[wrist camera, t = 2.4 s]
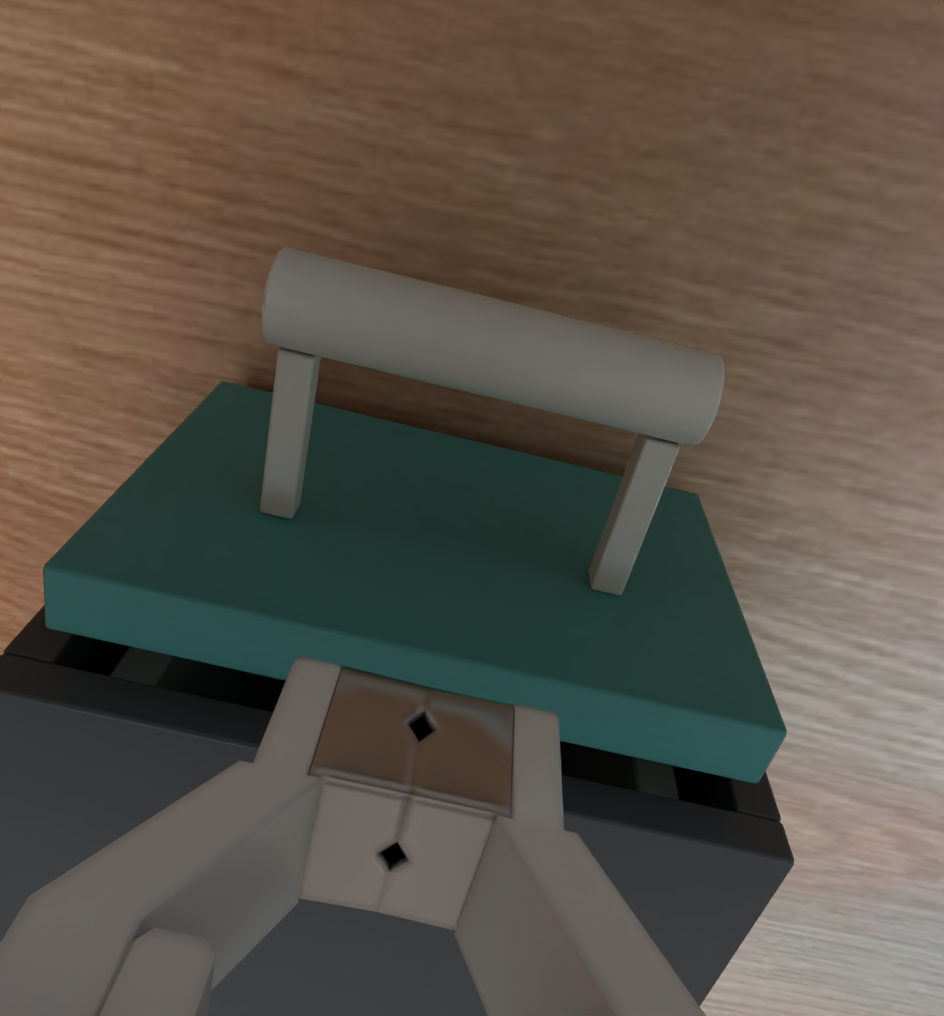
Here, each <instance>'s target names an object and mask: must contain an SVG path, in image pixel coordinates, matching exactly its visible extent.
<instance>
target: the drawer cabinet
mask: <svg viewBox="0 0 944 1016" xmlns="http://www.w3.org/2000/svg"><path fill="white" fill-rule="evenodd" d="M129 647H130V646H125V645H121V644H116V643H112V642H107V641H103V640H98V639H94V638H89V637H84V636H80V635H75V634H71V633H66V632H62V631H57V630H53V629H49V628H47V627H46V623H45V605H44V606H43V607H42V608H41V609H40V611H39V612H38V613H37V614H36V615H35V616H34V617H33V618H32V620H31V621H30V622H29V623H28V624H27V625H26V626H25V627H24V628H23V630H22V631H21V632H20V633H19V634H18V635H17V636H16V637H15V639H14V640H13V641H12V642H11V643H10V644H9V645H8V646H7V648H6V649H5V650H4V654H2V655H1V656H0V942H1V941H2V939H3V937H4V936H5V934H6V932H7V931H8V929H9V928H10V926H11V924H12V923H13V921H14V919H15V918H16V916H17V915H18V913H19V911H20V910H21V908H22V906H23V905H24V903H25V902H26V900H27V898H28V897H29V896H30V895H31V894H33V893H35V892H36V891H38V890H39V889H41V888H42V887H44V886H45V885H47V884H49V883H50V882H52V881H53V880H55V879H56V878H58V877H59V876H61V875H62V874H64V873H66V872H67V871H69V870H70V869H72V868H73V867H75V866H76V865H78V864H79V863H81V862H83V861H84V860H86V859H87V858H89V857H90V856H92V855H93V854H95V853H97V852H98V851H100V850H101V849H103V848H104V847H106V846H107V845H109V844H110V843H112V842H114V841H115V840H117V839H118V838H120V837H121V836H123V835H124V834H126V833H127V832H129V831H131V830H132V829H134V828H135V827H137V826H138V825H140V824H141V823H143V822H145V821H146V820H148V819H149V818H151V817H152V816H154V815H155V814H157V813H158V812H160V811H162V810H163V809H165V808H166V807H168V806H169V805H171V804H172V803H174V802H175V801H177V800H179V799H180V798H182V797H183V796H185V795H186V794H188V793H189V792H191V791H193V790H194V789H196V788H197V787H199V786H200V785H202V784H203V783H205V782H206V781H208V780H210V779H211V778H213V777H214V776H216V775H217V774H219V773H220V772H222V771H223V770H225V769H227V768H228V767H230V766H231V765H233V764H234V763H236V762H237V761H244V762H249V763H253V762H254V759H255V757H256V754H257V752H258V749H259V747H260V744H261V742H262V739H263V737H264V734H265V732H266V729H267V727H268V724H269V722H270V719H271V717H272V714H273V712H272V711H267V710H263V709H258V708H253V707H249V706H244V705H240V704H235V703H230V702H226V701H221V700H217V699H212V698H207V697H203V696H198V695H194V694H189V693H184V692H180V691H175V690H171V689H166V688H161V687H157V686H152V685H148V684H143V683H138V682H134V681H129V680H124V679H120V678H115V677H111V676H110V675H111V673H112V672H113V670H114V669H115V668H116V666H117V665H118V663H119V662H120V660H121V659H122V657H123V656H124V654H125V653H126V651H127V650H128V649H129ZM673 770H674V775H675V780H676V785H677V790H678V795H679V800H677V799H672V798H668V797H663V796H659V795H654V794H649V793H645V792H640V791H636V790H631V789H626V788H622V787H617V786H613V785H608V784H603V783H599V782H594V781H590V780H585V779H580V778H576V777H571V776H567V775H562V774H561V776H562V797H563V818H564V830H566V831H570V832H574V833H578V835H579V836H580V838H581V839H582V840H583V842H584V843H585V845H586V846H587V848H588V849H589V850H590V852H591V853H592V855H593V856H594V857H595V859H596V860H597V862H598V863H599V865H600V866H601V867H602V869H603V870H604V872H605V873H606V875H607V876H608V877H609V879H610V880H611V882H612V883H613V884H614V886H615V887H616V889H617V890H618V892H619V893H620V894H621V896H622V897H623V899H624V900H625V901H626V903H627V904H628V906H629V907H630V909H631V910H632V911H633V913H634V914H635V916H636V917H637V919H638V920H639V921H640V923H641V924H642V926H643V927H644V928H645V930H646V931H647V933H648V934H649V936H650V937H651V938H652V940H653V941H654V943H655V944H656V945H657V947H658V948H659V950H660V951H661V953H662V954H663V955H664V957H665V958H666V960H667V961H668V963H669V964H670V965H671V967H672V968H673V970H674V971H675V972H676V974H677V975H678V977H679V978H680V980H681V981H682V982H683V984H684V985H685V987H686V988H687V989H688V991H689V992H690V994H691V995H692V997H693V998H694V999H695V1001H696V1002H697V1004H698V1005H699V1007H700V1005H701V1004H702V1002H703V1000H704V999H705V997H706V996H707V994H708V993H709V991H710V990H711V988H712V987H713V985H714V984H715V982H716V981H717V979H718V978H719V976H720V975H721V973H722V972H723V970H724V969H725V967H726V966H727V964H728V963H729V961H730V960H731V958H732V957H733V955H734V954H735V952H736V951H737V949H738V948H739V946H740V945H741V943H742V942H743V940H744V939H745V937H746V936H747V934H748V933H749V931H750V930H751V928H752V927H753V925H754V924H755V922H756V921H757V919H758V918H759V916H760V915H761V913H762V912H763V910H764V909H765V907H766V906H767V904H768V903H769V901H770V899H771V898H772V896H773V895H774V893H775V892H776V890H777V889H778V887H779V886H780V884H781V883H782V881H783V880H784V878H785V877H786V875H787V874H788V872H789V871H790V869H791V868H792V866H793V864H794V858H793V855H792V852H791V849H790V846H789V843H788V840H787V836H786V833H785V830H784V827H783V825H782V824H781V823H780V820H781V817H780V814H779V811H778V808H777V805H776V802H775V799H774V796H773V792H772V789H771V786H770V783H769V780H768V777H767V774H766V771H765V773H764V774H763V776H762V778H761V779H760V781H759V782H758V783H750V782H745V781H741V780H736V779H732V778H727V777H722V776H718V775H713V774H709V773H704V772H700V771H695V770H691V769H686V768H681V767H677V766H673ZM454 934H455V930H451V929H447V928H442V927H438V926H434V925H430V924H426V923H421V922H417V921H413V920H409V919H404V918H400V917H396V916H392V915H388V914H383V913H379V912H374V911H369V910H363V909H357V908H352V907H346V906H340V905H335V904H329V903H323V902H318V901H312V900H306V899H301V898H299V899H298V904H297V905H296V906H295V907H294V908H293V909H292V910H291V911H290V912H289V913H288V914H287V915H286V916H285V917H284V918H283V919H282V920H281V921H280V922H279V923H278V924H277V925H276V926H275V927H274V928H273V929H272V930H271V931H270V932H269V933H268V934H267V935H266V936H265V937H264V938H263V939H262V940H261V941H260V942H259V943H258V944H257V945H256V946H255V947H254V948H253V949H252V950H251V951H250V952H249V953H248V954H247V955H246V956H245V957H244V958H243V959H242V960H241V961H240V962H239V963H238V964H237V965H236V966H235V967H234V968H233V969H232V970H231V971H230V972H229V973H228V974H227V975H226V976H225V977H224V978H223V979H222V980H221V981H220V982H219V983H218V984H217V985H216V986H215V987H214V988H213V989H212V990H211V995H210V1002H209V1010H208V1016H488V1015H487V1013H486V1010H485V1008H484V1006H483V1003H482V1001H481V998H480V996H479V993H478V991H477V989H476V986H475V984H474V981H473V979H472V977H471V974H470V972H469V969H468V967H467V964H466V962H465V960H464V957H463V955H462V952H461V950H460V947H459V945H458V943H457V940H456V938H455V935H454Z"/></svg>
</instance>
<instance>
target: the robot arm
mask: <svg viewBox="0 0 944 1016" xmlns="http://www.w3.org/2000/svg"><path fill="white" fill-rule="evenodd" d="M299 898H301V899H306V900H312V901H318V902H323V903H329V904H335V905H340V906H346V907H352V908H357V909H363V910H369V911H374V912H379V913H383V914H388V915H392V916H396V917H400V918H404V919H409V920H413V921H417V922H421V923H426V924H430V925H434V926H438V927H442V928H447V929H451V930H455V934H454V935H455V938H456V940H457V943H458V945H459V947H460V950H461V952H462V955H463V957H464V960H465V962H466V964H467V967H468V969H469V972H470V974H471V977H472V979H473V981H474V984H475V986H476V989H477V991H478V993H479V996H480V998H481V1001H482V1003H483V1006H484V1008H485V1010H486V1013H487V1015H488V1016H706V1015H705V1014H704V1012H703V1011H702V1009H701V1008H700V1007H699V1005H698V1004H697V1002H696V1001H695V999H694V998H693V997H692V995H691V994H690V992H689V991H688V989H687V988H686V987H685V985H684V984H683V982H682V981H681V980H680V978H679V977H678V975H677V974H676V972H675V971H674V970H673V968H672V967H671V965H670V964H669V963H668V961H667V960H666V958H665V957H664V955H663V954H662V953H661V951H660V950H659V948H658V947H657V945H656V944H655V943H654V941H653V940H652V938H651V937H650V936H649V934H648V933H647V931H646V930H645V928H644V927H643V926H642V924H641V923H640V921H639V920H638V919H637V917H636V916H635V914H634V913H633V911H632V910H631V909H630V907H629V906H628V904H627V903H626V901H625V900H624V899H623V897H622V896H621V894H620V893H619V892H618V890H617V889H616V887H615V886H614V884H613V883H612V882H611V880H610V879H609V877H608V876H607V875H606V873H605V872H604V870H603V869H602V867H601V866H600V865H599V863H598V862H597V860H596V859H595V857H594V856H593V855H592V853H591V852H590V850H589V849H588V848H587V846H586V845H585V843H584V842H583V840H582V839H581V838H580V836H579V835H578V833H574V832H570V831H566V830H564V818H563V797H562V776H561V755H560V733H559V719H558V717H557V715H556V713H555V712H550V711H545V710H541V709H536V708H531V707H526V706H521V705H516V704H513V705H510V704H508V703H503V702H498V701H494V700H489V699H484V698H480V697H475V696H470V695H466V694H461V693H457V692H452V691H447V690H443V689H438V688H433V687H429V686H424V685H420V684H416V683H412V682H408V681H404V680H400V679H396V678H392V677H388V676H384V675H380V674H376V673H372V672H368V671H364V670H360V669H355V668H351V667H347V666H343V669H342V666H340V665H336V664H332V663H328V662H324V661H320V660H316V659H311V658H307V657H303V656H299V657H298V658H297V659H296V660H295V662H294V663H293V665H292V667H291V670H290V672H289V675H288V677H287V680H286V682H285V685H284V687H283V690H282V692H281V695H280V697H279V700H278V702H277V704H276V707H275V709H274V712H273V714H272V717H271V719H270V722H269V724H268V727H267V729H266V732H265V734H264V737H263V739H262V742H261V744H260V747H259V749H258V752H257V754H256V757H255V759H254V762H253V763H249V762H244V761H237V762H236V763H234V764H233V765H231V766H230V767H228V768H227V769H225V770H223V771H222V772H220V773H219V774H217V775H216V776H214V777H213V778H211V779H210V780H208V781H206V782H205V783H203V784H202V785H200V786H199V787H197V788H196V789H194V790H193V791H191V792H189V793H188V794H186V795H185V796H183V797H182V798H180V799H179V800H177V801H175V802H174V803H172V804H171V805H169V806H168V807H166V808H165V809H163V810H162V811H160V812H158V813H157V814H155V815H154V816H152V817H151V818H149V819H148V820H146V821H145V822H143V823H141V824H140V825H138V826H137V827H135V828H134V829H132V830H131V831H129V832H127V833H126V834H124V835H123V836H121V837H120V838H118V839H117V840H115V841H114V842H112V843H110V844H109V845H107V846H106V847H104V848H103V849H101V850H100V851H98V852H97V853H95V854H93V855H92V856H90V857H89V858H87V859H86V860H84V861H83V862H81V863H79V864H78V865H76V866H75V867H73V868H72V869H70V870H69V871H67V872H66V873H64V874H62V875H61V876H59V877H58V878H56V879H55V880H53V881H52V882H50V883H49V884H47V885H45V886H44V887H42V888H41V889H39V890H38V891H36V892H35V893H33V894H31V895H30V896H29V897H28V898H27V900H26V902H25V903H24V905H23V906H22V908H21V910H20V911H19V913H18V915H17V916H16V918H15V919H14V921H13V923H12V924H11V926H10V928H9V929H8V931H7V932H6V934H5V936H4V937H3V939H2V941H1V942H0V1016H208V1010H209V1002H210V995H211V990H212V989H213V988H214V987H215V986H216V985H217V984H218V983H219V982H220V981H221V980H222V979H223V978H224V977H225V976H226V975H227V974H228V973H229V972H230V971H231V970H232V969H233V968H234V967H235V966H236V965H237V964H238V963H239V962H240V961H241V960H242V959H243V958H244V957H245V956H246V955H247V954H248V953H249V952H250V951H251V950H252V949H253V948H254V947H255V946H256V945H257V944H258V943H259V942H260V941H261V940H262V939H263V938H264V937H265V936H266V935H267V934H268V933H269V932H270V931H271V930H272V929H273V928H274V927H275V926H276V925H277V924H278V923H279V922H280V921H281V920H282V919H283V918H284V917H285V916H286V915H287V914H288V913H289V912H290V911H291V910H292V909H293V908H294V907H295V906H296V905H297V904H298V899H299Z"/></svg>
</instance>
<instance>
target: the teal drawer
mask: <svg viewBox="0 0 944 1016" xmlns="http://www.w3.org/2000/svg"><path fill="white" fill-rule="evenodd" d="M261 327H262V334H263V338H264V340H265V341H266V342H267V343H269V344H270V345H274V346H279V347H282V348H281V349H280V350H279V351H278V354H277V363H276V371H275V380H274V389H273V393H271V392H267V391H262V390H258V389H254V388H250V387H246V386H241V385H237V384H233V383H229V382H221V383H220V384H219V385H218V386H217V387H216V388H215V389H214V390H213V391H212V392H211V393H210V394H209V395H208V396H207V397H206V398H205V399H204V400H203V401H202V403H201V404H200V405H199V406H198V407H197V408H196V409H195V410H194V411H193V412H192V413H191V414H190V415H189V416H188V417H187V418H186V419H185V420H184V421H183V422H182V423H181V424H180V425H179V426H178V427H177V428H176V429H175V431H174V432H173V433H172V434H171V435H170V436H169V437H168V438H167V439H166V440H165V441H164V442H163V443H162V444H161V445H160V446H159V447H158V448H157V449H156V450H155V451H154V452H153V453H152V454H151V455H150V456H149V457H148V459H147V460H146V461H145V462H144V463H143V464H142V465H141V466H140V467H139V468H138V469H137V470H136V471H135V472H134V473H133V474H132V475H131V476H130V477H129V478H128V479H127V480H126V481H125V482H124V483H123V484H122V485H121V486H120V488H119V489H118V490H117V491H116V492H115V493H114V494H113V495H112V496H111V497H110V498H109V499H108V500H107V501H106V502H105V503H104V504H103V505H102V506H101V507H100V508H99V509H98V510H97V511H96V512H95V513H94V514H93V516H92V517H91V518H90V519H89V520H88V521H87V522H86V523H85V524H84V525H83V526H82V527H81V528H80V529H79V530H78V531H77V532H76V533H75V534H74V535H73V536H72V537H71V538H70V539H69V540H68V541H67V542H66V544H65V545H64V546H63V547H62V548H61V549H60V550H59V551H58V552H57V553H56V554H55V555H54V556H53V557H52V558H51V559H50V560H49V561H48V562H47V563H46V564H45V566H44V569H43V576H44V600H45V623H46V627H47V628H49V629H53V630H57V631H62V632H66V633H71V634H75V635H80V636H84V637H89V638H94V639H98V640H103V641H107V642H112V643H116V644H121V645H125V646H130V647H129V649H128V650H127V651H126V653H125V654H124V656H123V657H122V659H121V660H120V662H119V663H118V665H117V666H116V668H115V669H114V670H113V672H112V673H111V675H110V676H111V677H115V678H120V679H124V680H129V681H134V682H138V683H143V684H148V685H152V686H157V687H161V688H166V689H171V690H175V691H180V692H184V693H189V694H194V695H198V696H203V697H207V698H212V699H217V700H221V701H226V702H230V703H235V704H240V705H244V706H249V707H253V708H258V709H263V710H267V711H272V712H274V709H275V707H276V704H277V702H278V700H279V697H280V695H281V692H282V690H283V687H284V685H285V682H286V680H287V677H288V675H289V672H290V670H291V667H292V665H293V663H294V662H295V660H296V659H297V658H298V657H299V656H303V657H307V658H311V659H316V660H320V661H324V662H328V663H332V664H336V665H340V666H342V669H343V666H347V667H351V668H355V669H360V670H364V671H368V672H372V673H376V674H380V675H384V676H388V677H392V678H396V679H400V680H404V681H408V682H412V683H416V684H420V685H424V686H429V687H433V688H438V689H443V690H447V691H452V692H457V693H461V694H466V695H470V696H475V697H480V698H484V699H489V700H494V701H498V702H503V703H508V704H510V705H513V704H516V705H521V706H526V707H531V708H536V709H541V710H545V711H550V712H555V713H556V715H557V717H558V719H559V733H560V755H561V774H562V775H567V776H571V777H576V778H580V779H585V780H590V781H594V782H599V783H603V784H608V785H613V786H617V787H622V788H626V789H631V790H636V791H640V792H645V793H649V794H654V795H659V796H663V797H668V798H672V799H677V800H679V795H678V790H677V785H676V780H675V775H674V770H673V766H677V767H681V768H686V769H691V770H695V771H700V772H704V773H709V774H713V775H718V776H722V777H727V778H732V779H736V780H741V781H745V782H750V783H758V782H759V781H760V779H761V778H762V776H763V774H764V773H765V771H766V769H767V767H768V766H769V764H770V762H771V761H772V759H773V757H774V755H775V754H776V752H777V750H778V749H779V747H780V745H781V743H782V742H783V740H784V738H785V737H786V731H787V730H786V728H785V725H784V722H783V720H782V717H781V714H780V712H779V709H778V706H777V704H776V701H775V698H774V696H773V693H772V690H771V688H770V685H769V682H768V680H767V677H766V675H765V672H764V669H763V667H762V664H761V661H760V659H759V656H758V653H757V651H756V648H755V645H754V643H753V640H752V637H751V635H750V632H749V630H748V627H747V624H746V622H745V619H744V616H743V614H742V611H741V608H740V606H739V603H738V600H737V598H736V595H735V592H734V590H733V587H732V584H731V582H730V579H729V577H728V574H727V571H726V569H725V566H724V563H723V561H722V558H721V555H720V553H719V550H718V547H717V545H716V542H715V539H714V537H713V534H712V531H711V529H710V526H709V524H708V521H707V518H706V516H705V513H704V510H703V508H702V505H701V502H700V500H699V497H698V495H697V494H695V493H690V492H686V491H682V490H678V489H674V488H669V487H665V485H666V482H667V480H668V477H669V474H670V472H671V469H672V467H673V464H674V462H675V459H676V457H677V454H678V452H679V444H678V443H680V444H684V445H688V446H693V445H697V444H698V443H700V442H701V441H702V440H703V438H704V437H705V435H706V434H707V432H708V431H709V429H710V427H711V425H712V423H713V421H714V419H715V416H716V414H717V411H718V408H719V405H720V401H721V398H722V393H723V388H724V381H725V365H724V360H723V358H722V357H721V356H720V355H718V354H716V353H712V352H708V351H704V350H700V349H696V348H692V347H688V346H684V345H680V344H676V343H672V342H668V341H664V340H660V339H656V338H652V337H648V336H644V335H640V334H636V333H632V332H628V331H624V330H620V329H616V328H612V327H608V326H604V325H600V324H596V323H592V322H588V321H584V320H580V319H576V318H571V317H567V316H563V315H559V314H555V313H551V312H547V311H543V310H539V309H535V308H531V307H527V306H523V305H519V304H515V303H511V302H507V301H503V300H499V299H495V298H491V297H487V296H483V295H479V294H475V293H471V292H467V291H463V290H459V289H455V288H451V287H447V286H443V285H439V284H435V283H431V282H426V281H422V280H418V279H414V278H410V277H406V276H402V275H398V274H394V273H390V272H386V271H382V270H378V269H374V268H370V267H366V266H362V265H358V264H354V263H350V262H346V261H342V260H338V259H334V258H330V257H326V256H322V255H318V254H314V253H310V252H306V251H302V250H298V249H294V248H290V247H285V248H282V249H280V250H279V252H278V253H277V255H276V257H275V258H274V261H273V263H272V265H271V268H270V271H269V274H268V277H267V281H266V285H265V290H264V295H263V302H262V312H261ZM321 357H324V358H328V359H332V360H337V361H341V362H345V363H349V364H353V365H357V366H361V367H366V368H370V369H374V370H378V371H382V372H386V373H390V374H395V375H399V376H403V377H407V378H411V379H415V380H419V381H423V382H428V383H432V384H436V385H440V386H444V387H448V388H452V389H457V390H461V391H465V392H469V393H473V394H477V395H481V396H486V397H490V398H494V399H498V400H502V401H506V402H510V403H515V404H519V405H523V406H527V407H531V408H535V409H539V410H544V411H548V412H552V413H556V414H560V415H564V416H568V417H573V418H577V419H581V420H585V421H589V422H593V423H597V424H602V425H606V426H610V427H614V428H618V429H622V430H626V431H631V432H635V433H639V434H638V437H637V439H636V442H635V445H634V448H633V450H632V453H631V456H630V459H629V461H628V464H627V467H626V469H625V472H624V475H623V476H619V475H615V474H611V473H606V472H602V471H598V470H594V469H590V468H585V467H581V466H577V465H573V464H569V463H564V462H560V461H556V460H552V459H548V458H544V457H539V456H535V455H531V454H527V453H523V452H518V451H514V450H510V449H506V448H502V447H497V446H493V445H489V444H485V443H481V442H476V441H472V440H468V439H464V438H460V437H455V436H451V435H447V434H443V433H439V432H434V431H430V430H426V429H422V428H418V427H413V426H409V425H405V424H401V423H397V422H392V421H388V420H384V419H380V418H376V417H372V416H367V415H363V414H359V413H355V412H351V411H346V410H342V409H338V408H334V407H330V406H325V405H321V404H317V403H314V402H315V395H316V388H317V381H318V374H319V367H320V360H321Z"/></svg>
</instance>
